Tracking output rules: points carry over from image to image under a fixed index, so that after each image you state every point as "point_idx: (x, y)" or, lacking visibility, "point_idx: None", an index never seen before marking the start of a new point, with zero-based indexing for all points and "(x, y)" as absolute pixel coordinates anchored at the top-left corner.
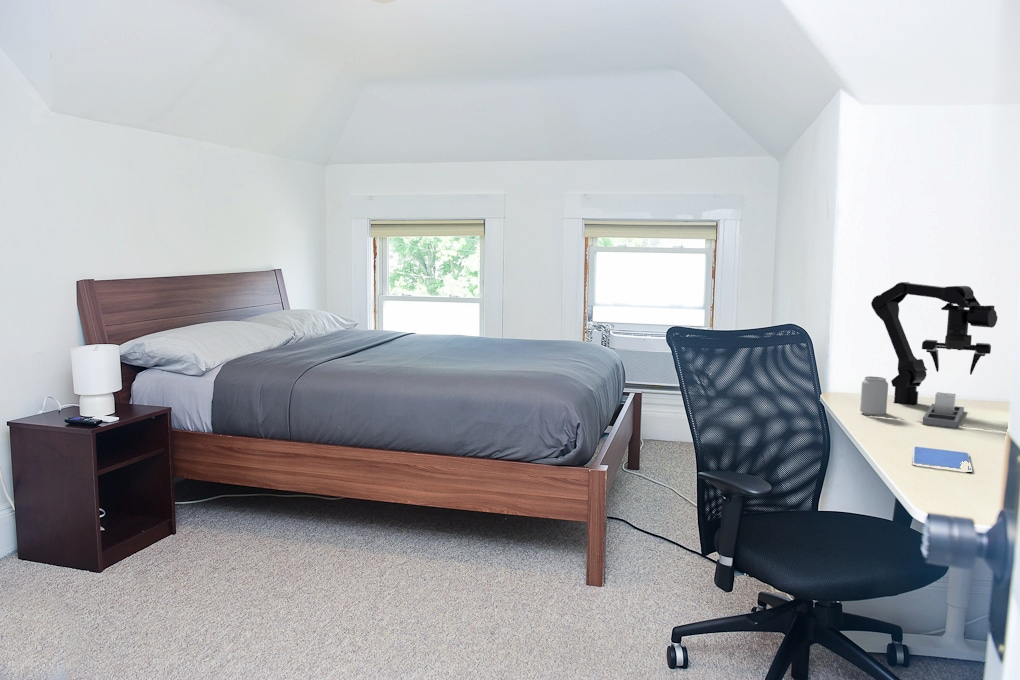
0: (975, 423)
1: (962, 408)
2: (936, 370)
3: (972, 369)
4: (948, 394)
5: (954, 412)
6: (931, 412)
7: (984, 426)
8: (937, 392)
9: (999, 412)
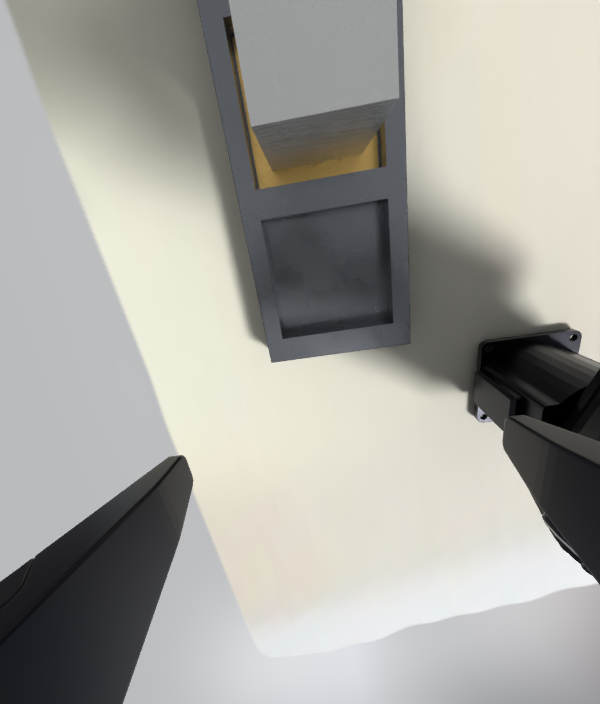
0: (152, 103)
1: (267, 319)
2: (535, 419)
3: (125, 496)
4: (289, 24)
5: (273, 188)
6: None
7: (87, 38)
8: (394, 78)
9: None
